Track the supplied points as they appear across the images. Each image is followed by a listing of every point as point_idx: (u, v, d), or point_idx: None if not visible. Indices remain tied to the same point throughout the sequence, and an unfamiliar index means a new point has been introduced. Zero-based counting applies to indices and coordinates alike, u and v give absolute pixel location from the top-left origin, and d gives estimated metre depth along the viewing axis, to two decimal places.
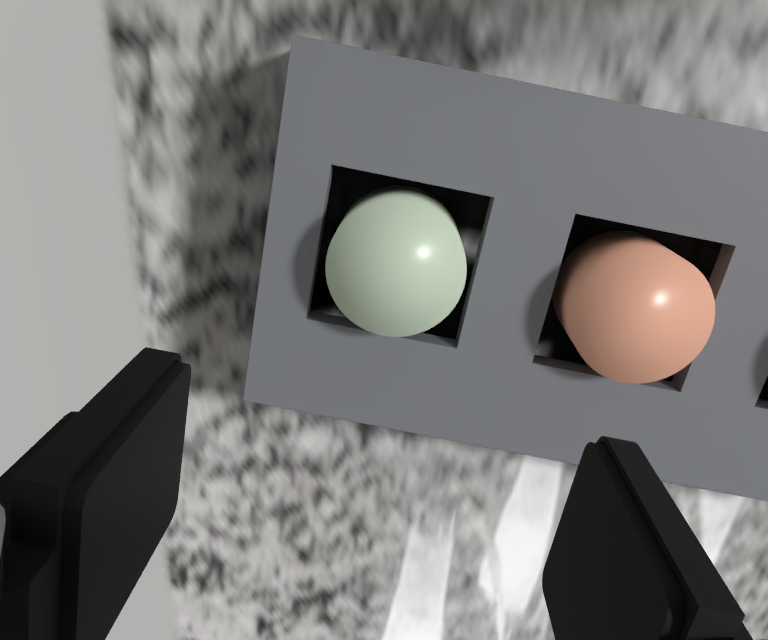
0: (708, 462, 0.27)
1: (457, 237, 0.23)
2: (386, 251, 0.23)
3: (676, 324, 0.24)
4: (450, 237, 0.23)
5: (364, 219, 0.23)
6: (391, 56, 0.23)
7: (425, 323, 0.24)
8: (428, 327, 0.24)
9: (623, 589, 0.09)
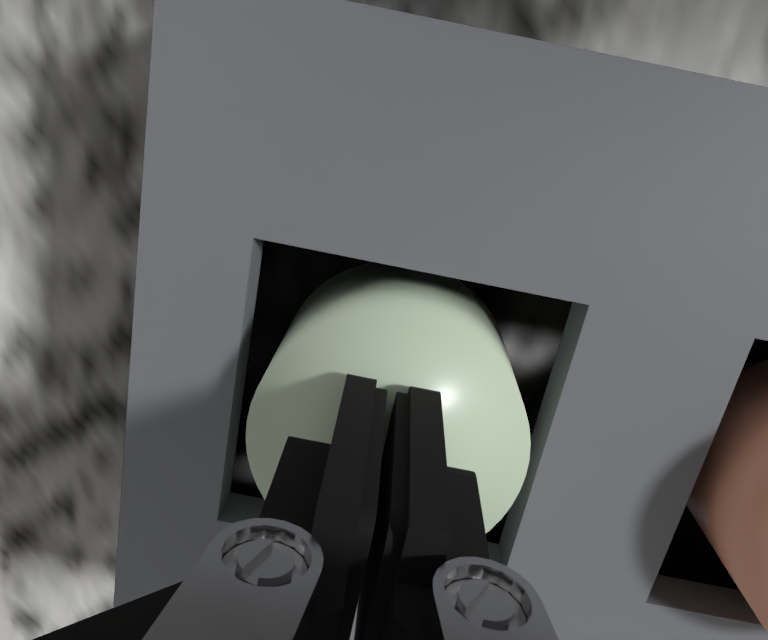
0: None
1: (513, 388, 0.11)
2: None
3: None
4: (499, 388, 0.11)
5: (321, 352, 0.11)
6: (375, 10, 0.10)
7: None
8: None
9: (381, 521, 0.09)
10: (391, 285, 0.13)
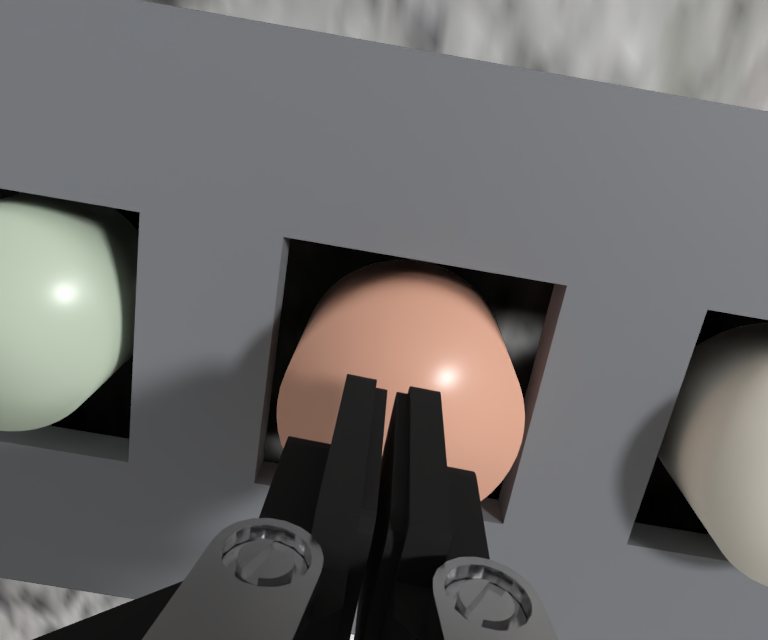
0: (561, 629, 0.17)
1: (77, 271, 0.14)
2: None
3: (458, 429, 0.14)
4: (65, 271, 0.14)
5: None
6: None
7: (56, 409, 0.15)
8: (61, 415, 0.15)
9: (381, 521, 0.09)
10: (10, 200, 0.15)
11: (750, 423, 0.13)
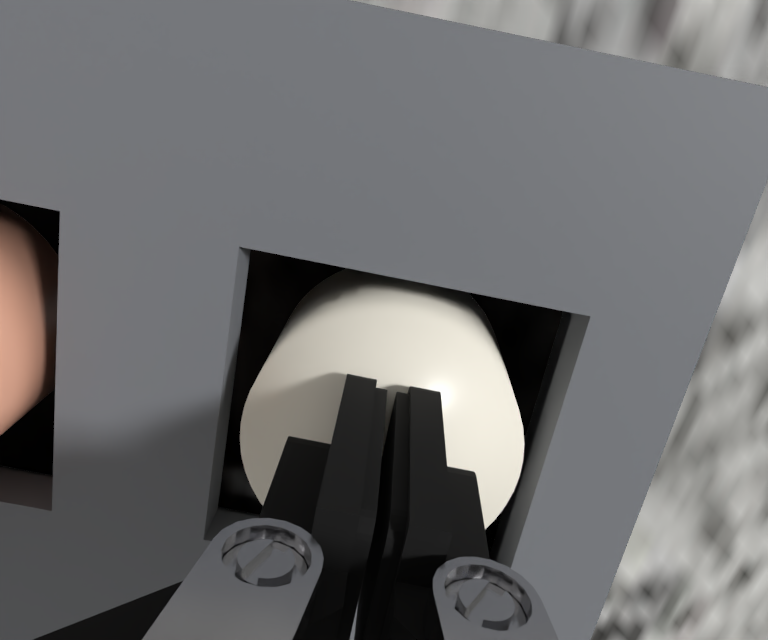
0: None
1: None
2: None
3: None
4: None
5: None
6: None
7: None
8: None
9: (381, 521, 0.09)
10: None
11: (268, 362, 0.11)
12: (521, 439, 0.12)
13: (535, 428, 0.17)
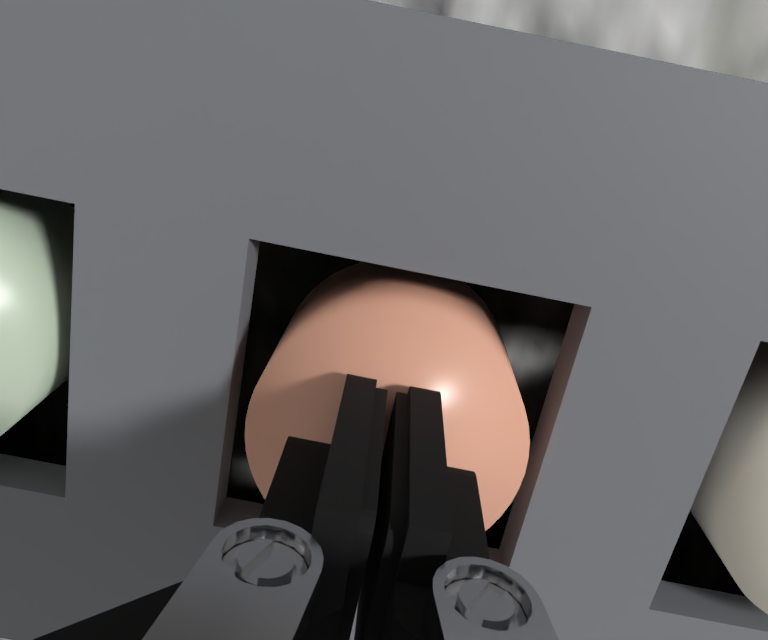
0: None
1: None
2: None
3: (453, 457, 0.12)
4: None
5: None
6: None
7: None
8: None
9: (381, 521, 0.09)
10: None
11: None
12: None
13: None
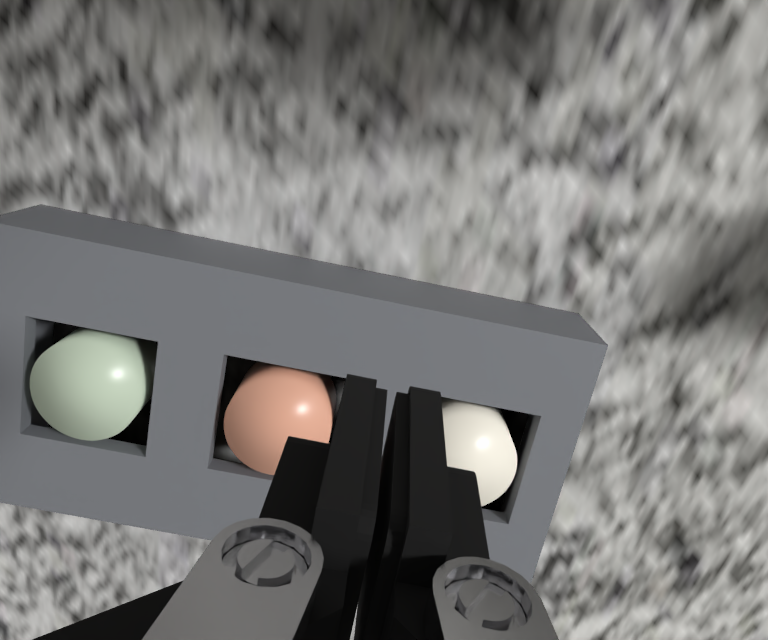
0: None
1: (128, 367, 0.30)
2: (75, 377, 0.31)
3: (302, 431, 0.31)
4: (122, 367, 0.30)
5: (55, 354, 0.30)
6: (62, 237, 0.29)
7: (112, 430, 0.31)
8: (115, 433, 0.31)
9: (382, 521, 0.09)
10: (93, 329, 0.32)
11: None
12: (516, 459, 0.32)
13: (520, 456, 0.37)
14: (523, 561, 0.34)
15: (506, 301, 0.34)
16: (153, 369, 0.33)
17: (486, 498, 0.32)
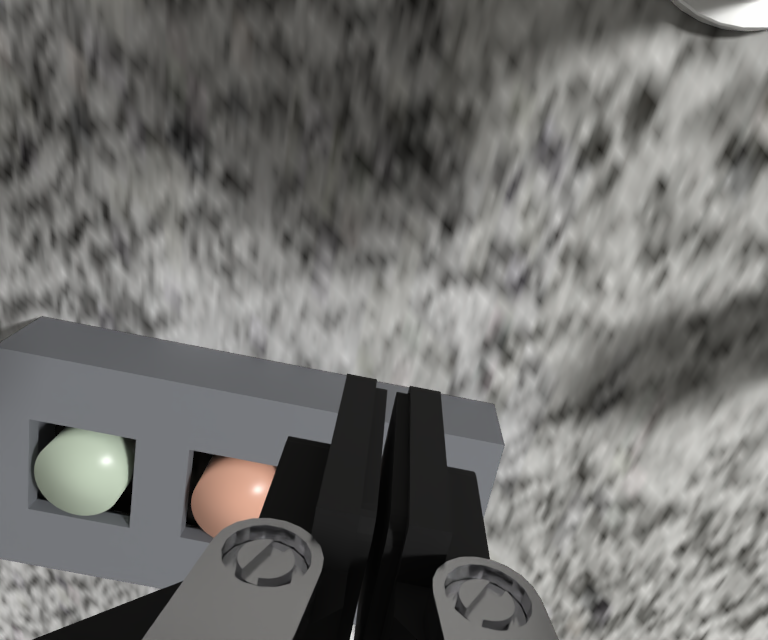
0: None
1: (112, 460, 0.37)
2: (70, 467, 0.38)
3: (255, 510, 0.38)
4: (108, 460, 0.37)
5: (53, 449, 0.37)
6: (56, 360, 0.36)
7: (101, 508, 0.39)
8: (103, 510, 0.39)
9: (381, 521, 0.09)
10: None
11: None
12: None
13: None
14: None
15: None
16: None
17: None
